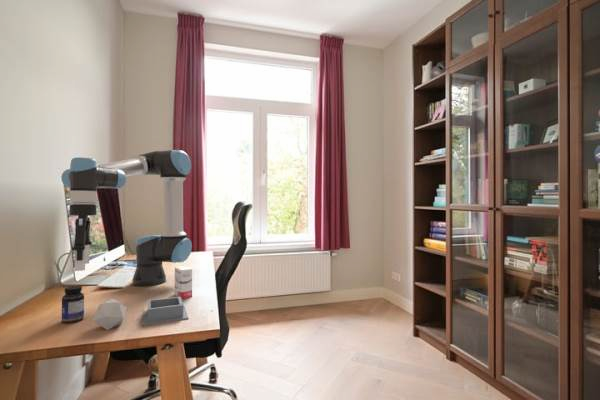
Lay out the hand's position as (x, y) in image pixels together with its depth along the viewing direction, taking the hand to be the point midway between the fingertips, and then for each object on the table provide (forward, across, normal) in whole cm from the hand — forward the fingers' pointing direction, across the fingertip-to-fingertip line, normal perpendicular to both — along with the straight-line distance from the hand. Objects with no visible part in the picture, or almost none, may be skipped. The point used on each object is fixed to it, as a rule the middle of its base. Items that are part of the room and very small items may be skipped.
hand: (82, 267), depth 107 cm
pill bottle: (+18, -1, -2) cm, 18 cm away
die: (+18, +11, +9) cm, 23 cm away
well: (+18, +9, +25) cm, 32 cm away
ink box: (+18, -13, +34) cm, 41 cm away
